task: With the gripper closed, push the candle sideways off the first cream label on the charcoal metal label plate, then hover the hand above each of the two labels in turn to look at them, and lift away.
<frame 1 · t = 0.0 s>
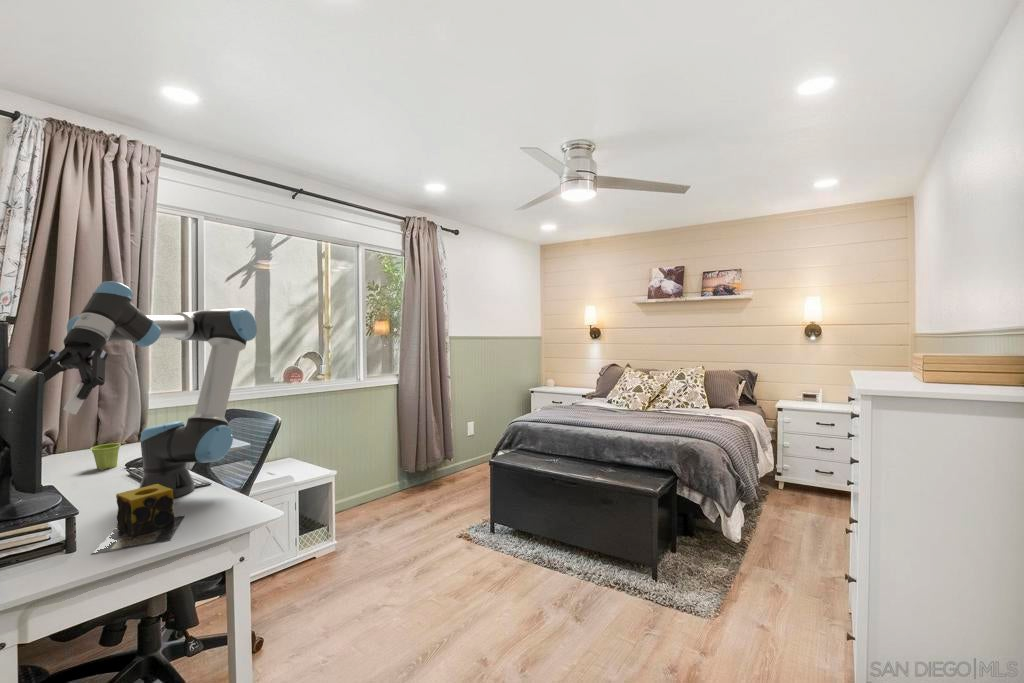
hand: (42, 412, 110), 36 cm above the table, tool tilted 35°, fingers open, 13 cm apart
plant pot: (107, 468, 195), on the table
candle: (146, 528, 133), resting on label plate
label plate: (142, 533, 129), on the table
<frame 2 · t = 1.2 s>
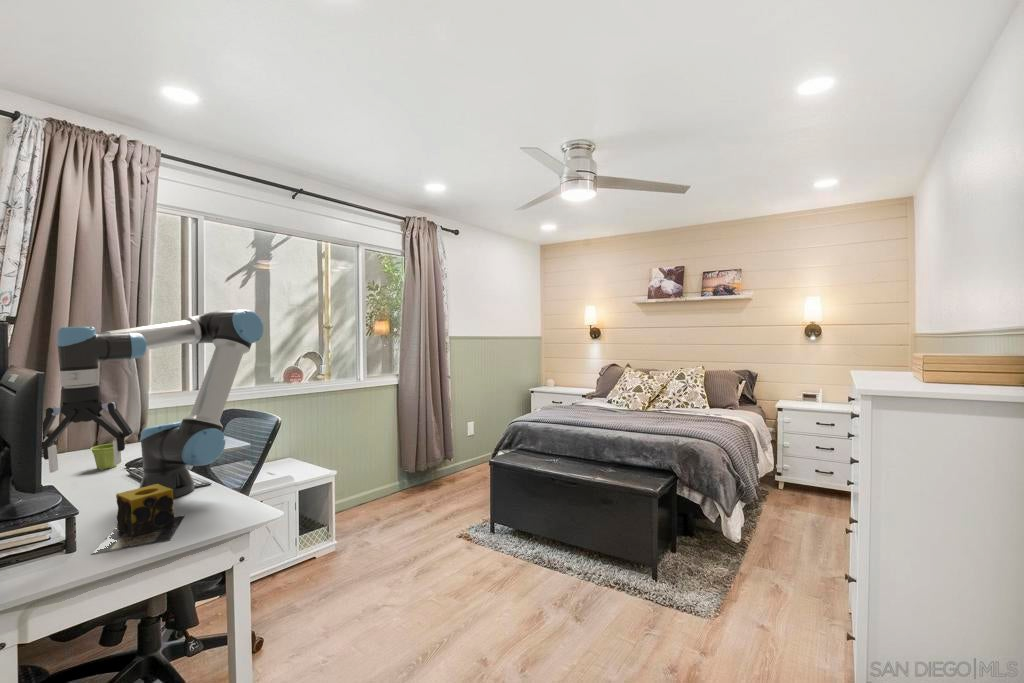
hand: (86, 467, 127), 19 cm above the table, tool pointing down, fingers open, 12 cm apart
nothing on the table moved.
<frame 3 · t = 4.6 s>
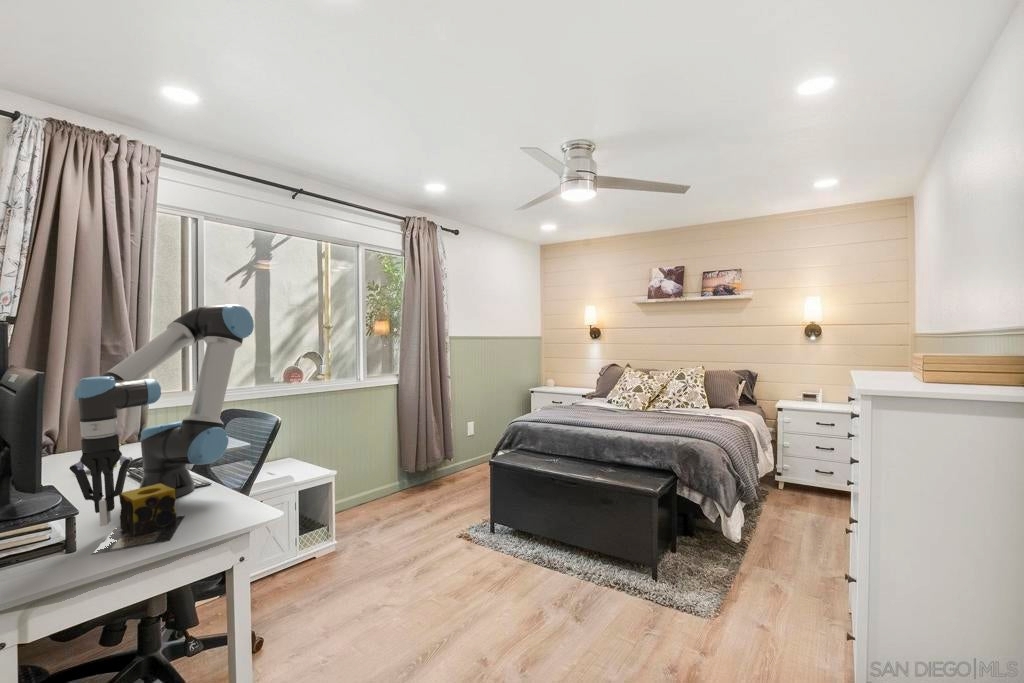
hand: (105, 523, 129), 3 cm above the table, tool pointing down, fingers closed
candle: (149, 527, 133), resting on label plate, touching gripper
everything else where it was.
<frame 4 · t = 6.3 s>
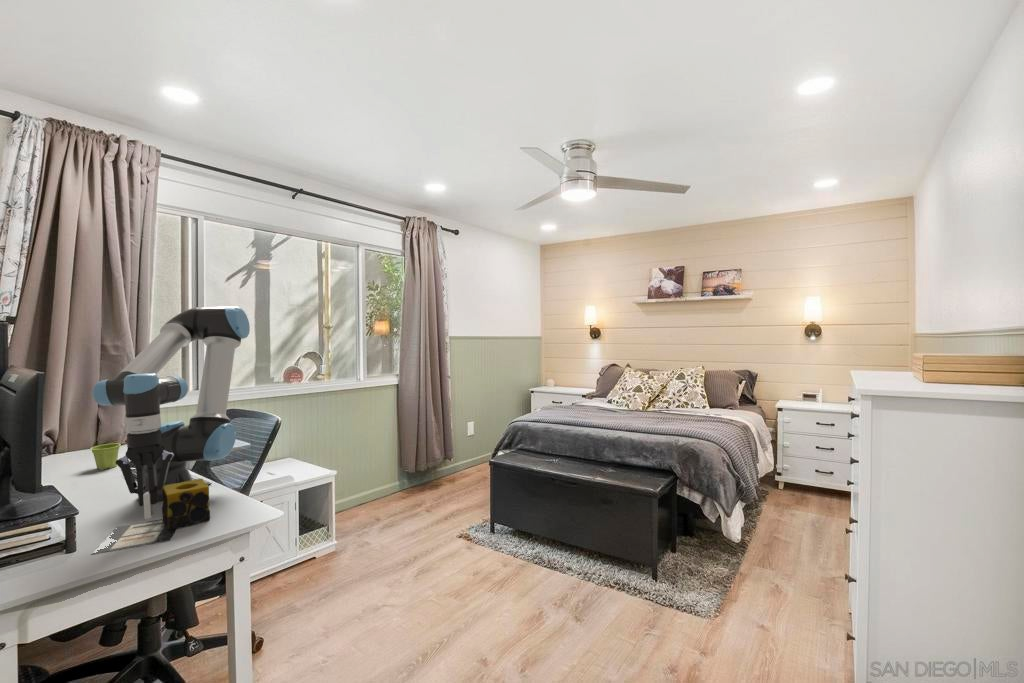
hand: (149, 516, 133), 3 cm above the table, tool pointing down, fingers closed
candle: (186, 521, 136), on the table, touching gripper
everything else where it was.
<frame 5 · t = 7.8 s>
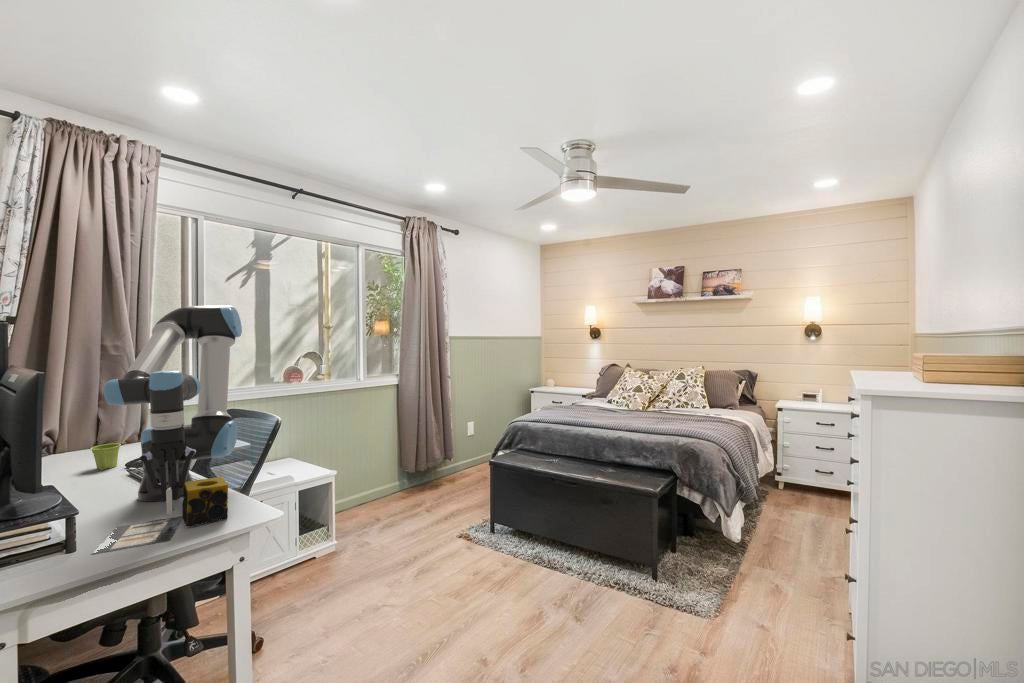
hand: (170, 512, 134), 3 cm above the table, tool pointing down, fingers closed
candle: (204, 518, 137), on the table, touching gripper
everything else where it was.
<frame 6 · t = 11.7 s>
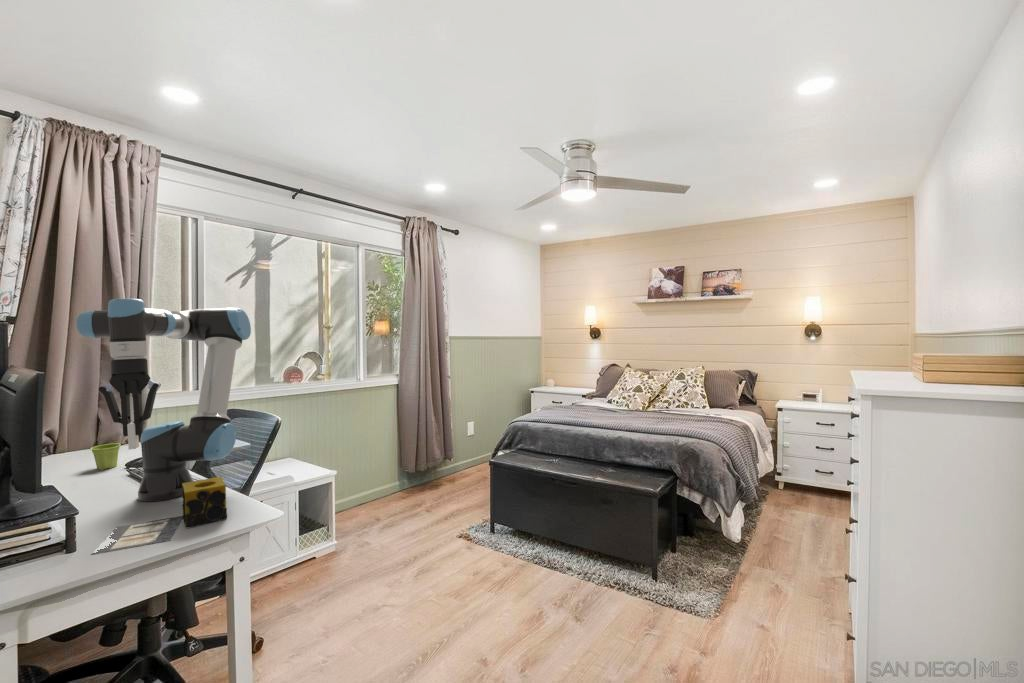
hand: (133, 447, 127), 23 cm above the table, tool pointing down, fingers closed
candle: (205, 519, 137), on the table, touching label plate
everything else where it was.
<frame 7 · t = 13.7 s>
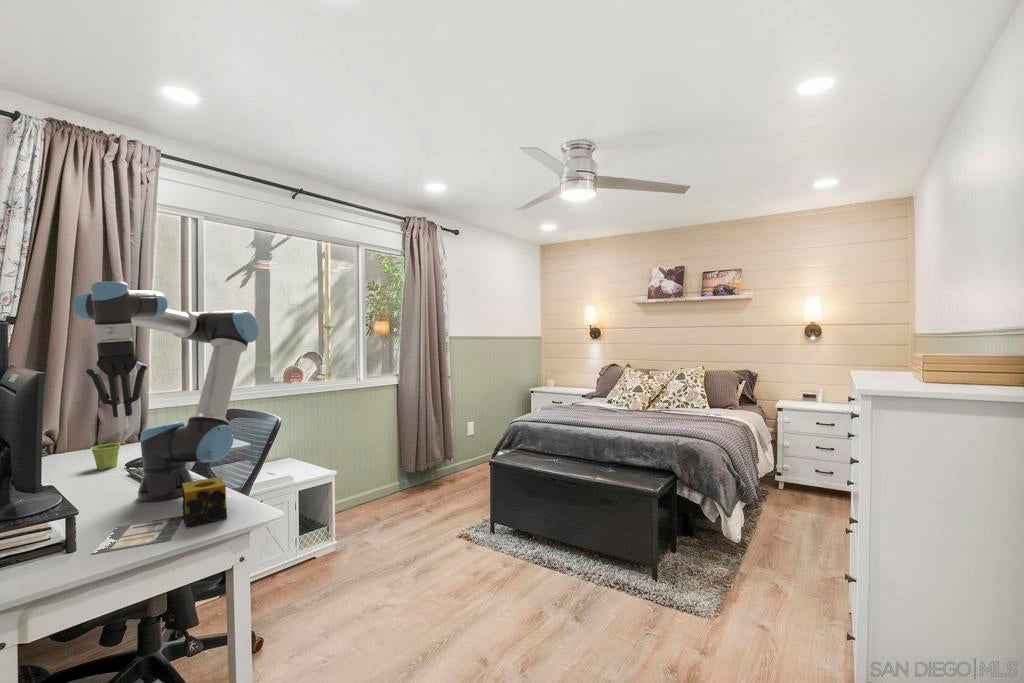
hand: (124, 428, 130), 28 cm above the table, tool pointing down, fingers closed
nothing on the table moved.
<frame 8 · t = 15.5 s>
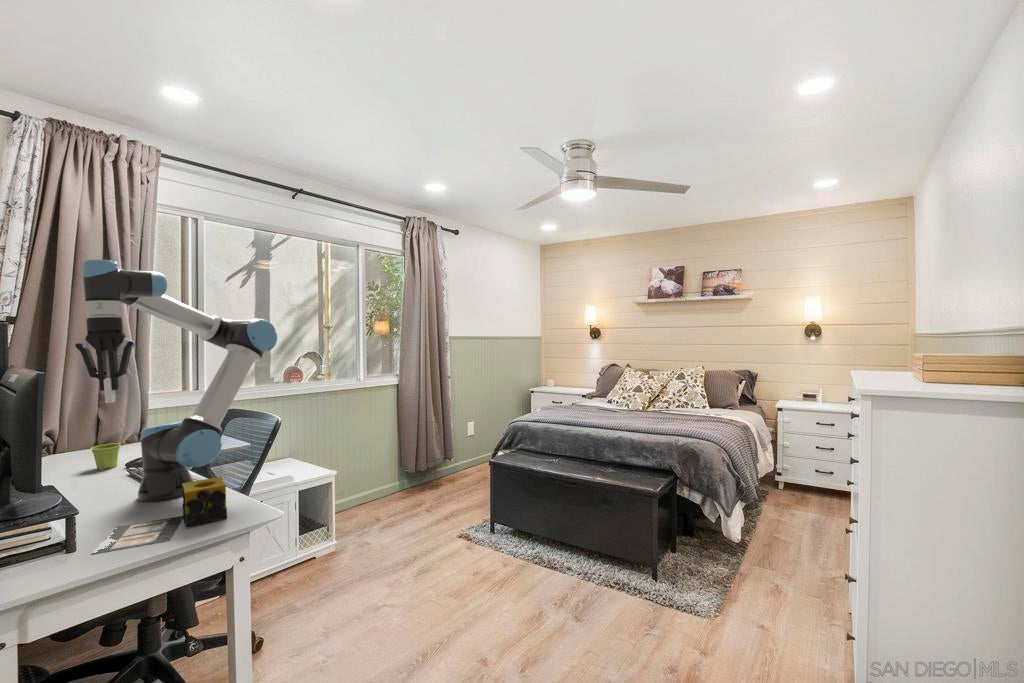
hand: (110, 402, 134), 34 cm above the table, tool pointing down, fingers closed
nothing on the table moved.
at the end: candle inside the target area (1.2 cm from its centre), on the table; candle tilted 1°; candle moved 13.8 cm from its start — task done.
